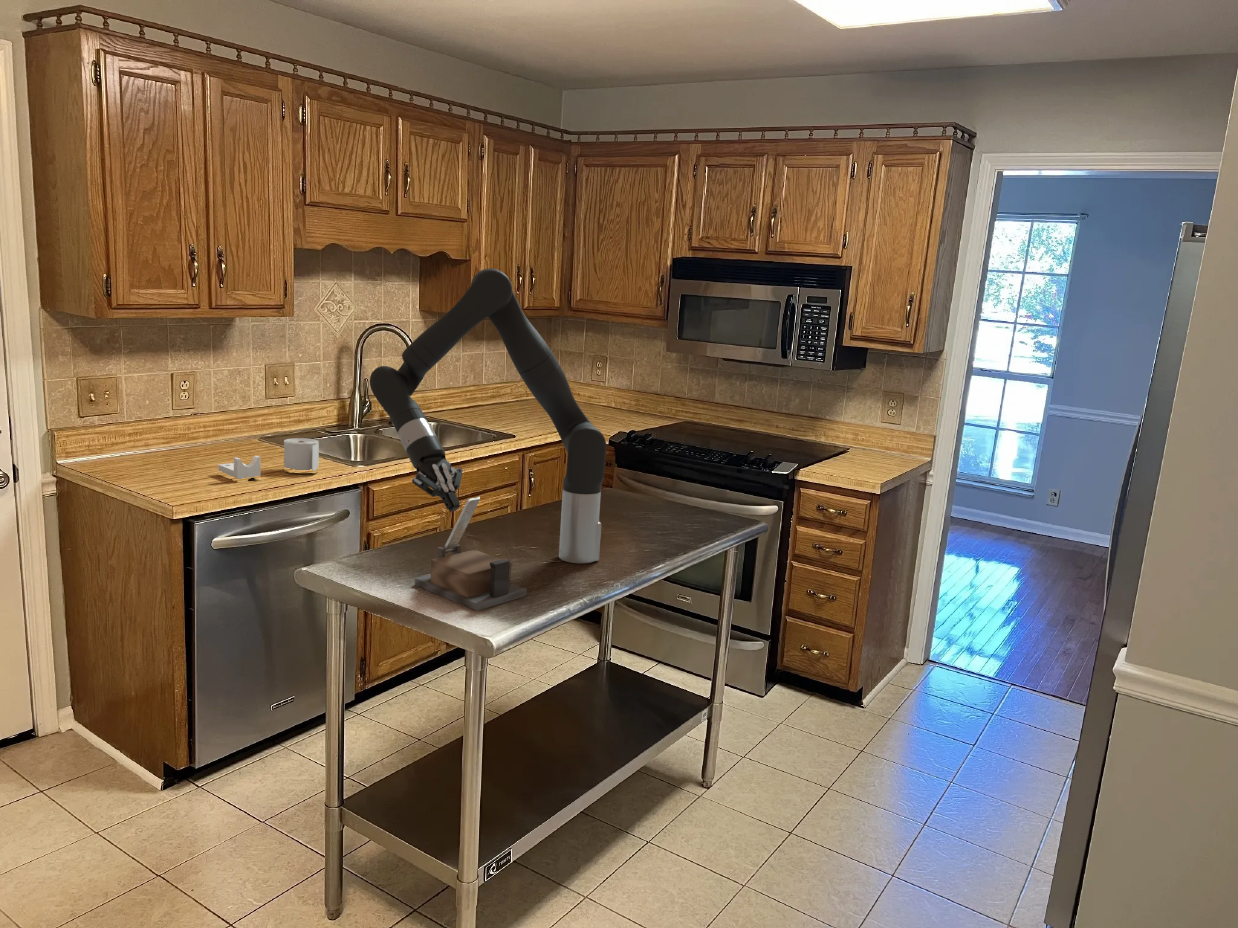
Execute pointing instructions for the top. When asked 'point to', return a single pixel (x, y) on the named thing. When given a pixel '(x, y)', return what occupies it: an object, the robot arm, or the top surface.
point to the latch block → (471, 579)
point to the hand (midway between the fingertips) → (455, 509)
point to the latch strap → (461, 524)
